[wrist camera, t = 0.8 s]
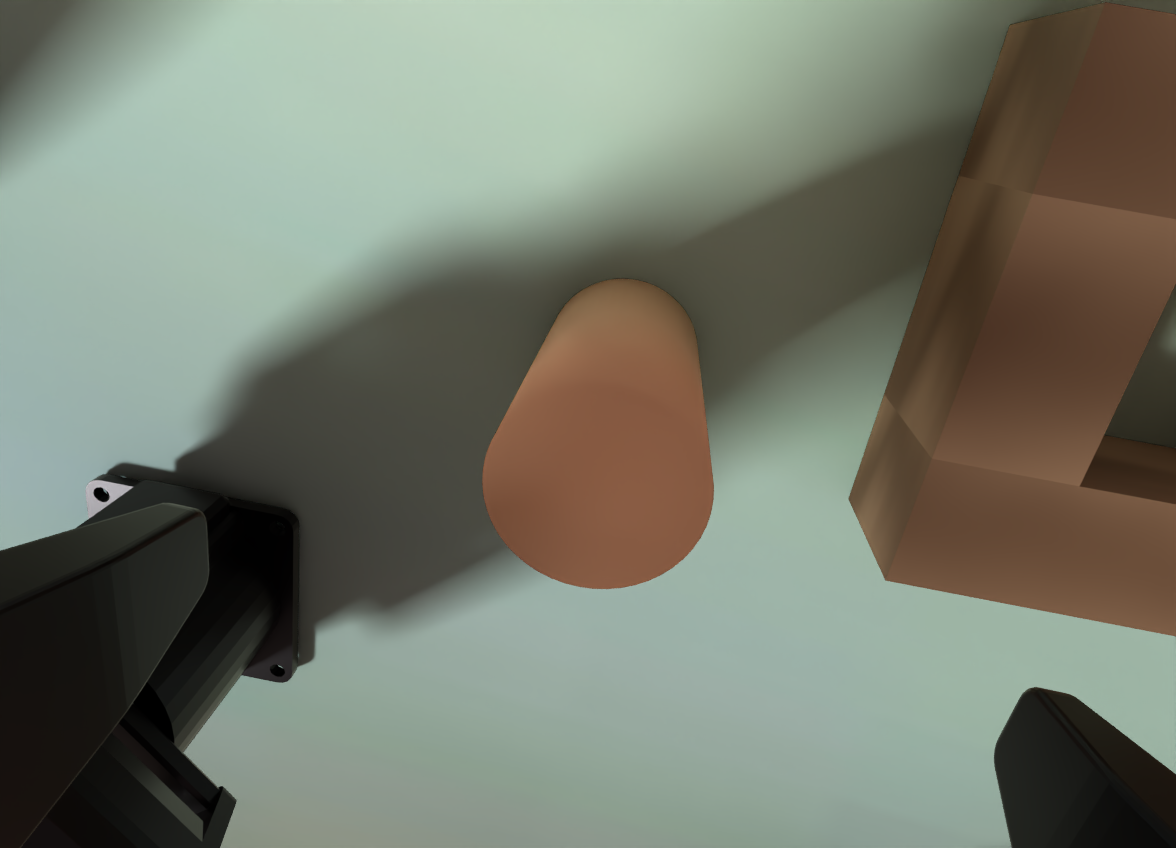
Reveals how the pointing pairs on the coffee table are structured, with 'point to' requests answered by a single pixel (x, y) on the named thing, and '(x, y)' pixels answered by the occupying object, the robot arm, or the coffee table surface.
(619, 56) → the coffee table surface
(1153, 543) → the hole block
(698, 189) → the coffee table surface
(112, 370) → the coffee table surface
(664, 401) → the peg
